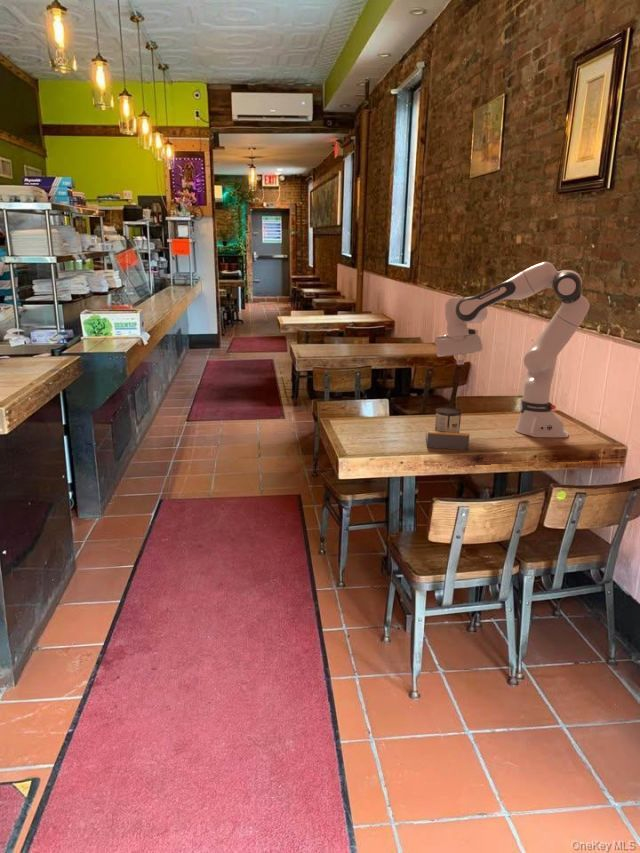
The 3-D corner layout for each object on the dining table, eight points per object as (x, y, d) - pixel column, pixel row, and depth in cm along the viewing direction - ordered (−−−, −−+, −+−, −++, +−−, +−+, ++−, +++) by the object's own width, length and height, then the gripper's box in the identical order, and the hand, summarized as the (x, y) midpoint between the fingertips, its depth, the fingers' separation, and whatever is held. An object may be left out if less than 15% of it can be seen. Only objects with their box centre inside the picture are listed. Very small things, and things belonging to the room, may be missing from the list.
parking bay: (464, 440, 265) (466, 425, 263) (468, 450, 252) (469, 434, 250) (425, 438, 267) (426, 423, 265) (426, 447, 254) (428, 432, 252)
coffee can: (441, 437, 268) (444, 406, 264) (463, 443, 262) (466, 410, 258) (428, 442, 261) (431, 410, 257) (450, 448, 254) (453, 414, 250)
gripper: (434, 335, 279) (438, 365, 279) (481, 329, 277) (484, 360, 277) (433, 337, 286) (436, 367, 285) (479, 332, 284) (482, 362, 283)
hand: (460, 364), depth 281 cm, fingers closed
